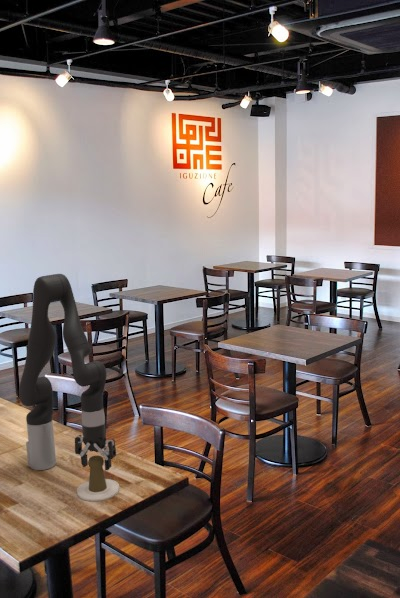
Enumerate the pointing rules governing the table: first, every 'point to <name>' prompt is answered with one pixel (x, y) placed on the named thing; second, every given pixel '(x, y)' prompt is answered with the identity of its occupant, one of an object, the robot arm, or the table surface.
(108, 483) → the cream plate
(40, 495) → the table surface
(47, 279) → the robot arm
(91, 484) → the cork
